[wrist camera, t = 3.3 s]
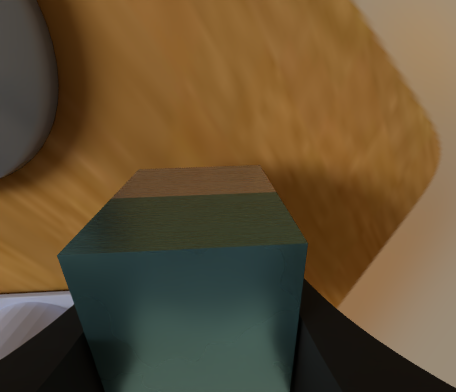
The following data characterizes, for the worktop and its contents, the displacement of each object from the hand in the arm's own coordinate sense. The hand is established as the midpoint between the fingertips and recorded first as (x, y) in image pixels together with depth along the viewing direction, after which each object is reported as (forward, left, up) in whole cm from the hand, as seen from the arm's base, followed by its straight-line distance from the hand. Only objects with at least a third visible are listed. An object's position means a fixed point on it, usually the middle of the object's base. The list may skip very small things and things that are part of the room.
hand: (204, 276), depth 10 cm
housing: (0, 0, -2) cm, 2 cm away
